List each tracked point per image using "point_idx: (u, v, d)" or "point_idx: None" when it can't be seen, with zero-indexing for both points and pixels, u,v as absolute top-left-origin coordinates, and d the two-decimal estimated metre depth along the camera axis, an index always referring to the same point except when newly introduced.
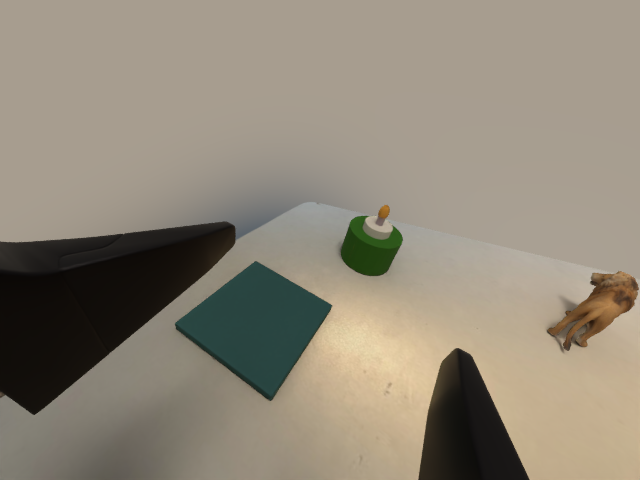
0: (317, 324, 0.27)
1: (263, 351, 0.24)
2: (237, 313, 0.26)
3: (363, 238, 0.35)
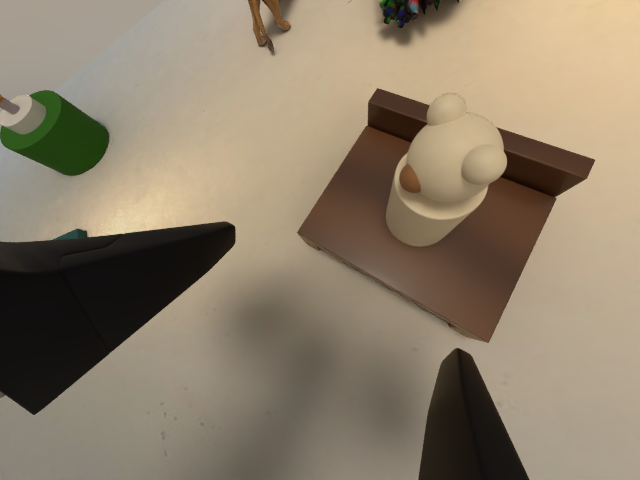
0: None
1: None
2: None
3: (23, 144, 0.27)
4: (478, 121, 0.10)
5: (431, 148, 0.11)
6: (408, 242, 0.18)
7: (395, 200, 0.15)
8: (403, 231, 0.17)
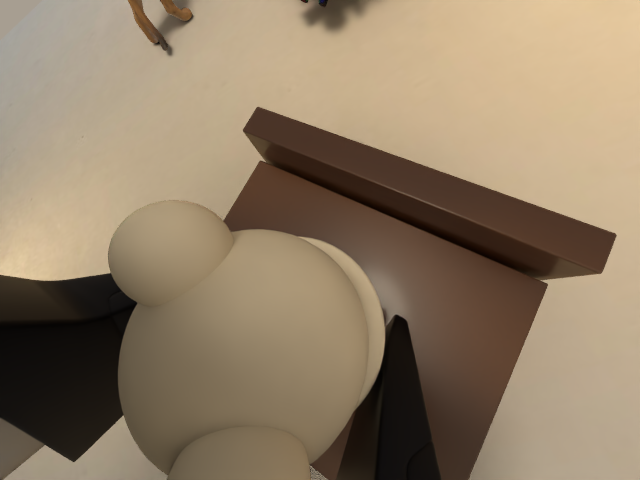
0: None
1: None
2: None
3: None
4: (231, 315, 0.03)
5: None
6: None
7: None
8: None
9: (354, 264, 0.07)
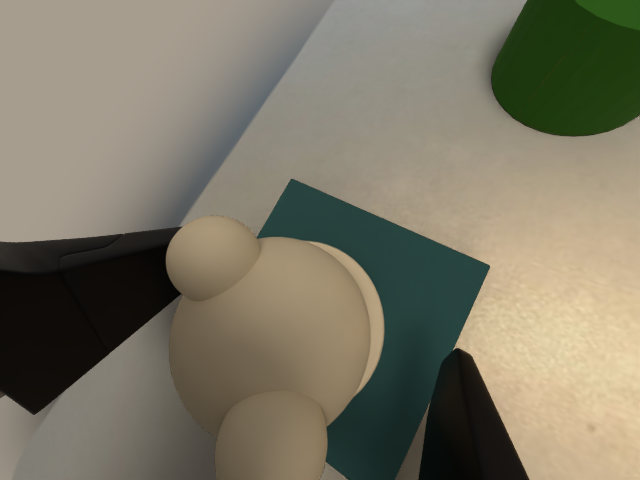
0: (458, 327, 0.12)
1: (348, 405, 0.12)
2: None
3: (626, 13, 0.09)
4: (265, 307, 0.04)
5: (170, 362, 0.04)
6: None
7: None
8: None
9: (357, 266, 0.07)
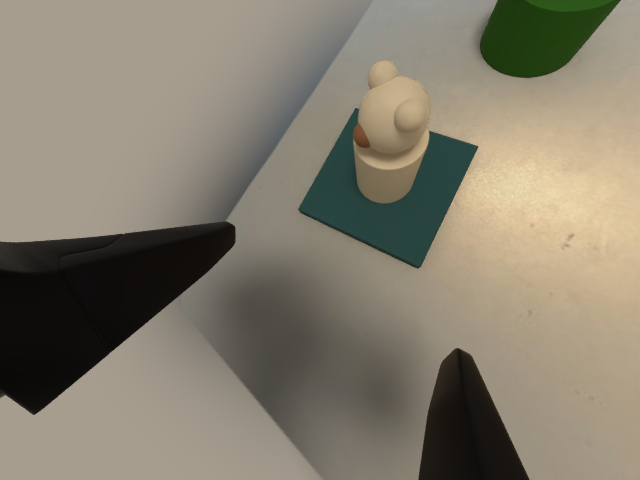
0: (460, 178, 0.21)
1: (398, 223, 0.21)
2: (356, 185, 0.23)
3: (543, 1, 0.18)
4: (405, 81, 0.13)
5: (371, 106, 0.13)
6: (376, 200, 0.21)
7: (356, 159, 0.18)
8: (368, 188, 0.20)
9: None
